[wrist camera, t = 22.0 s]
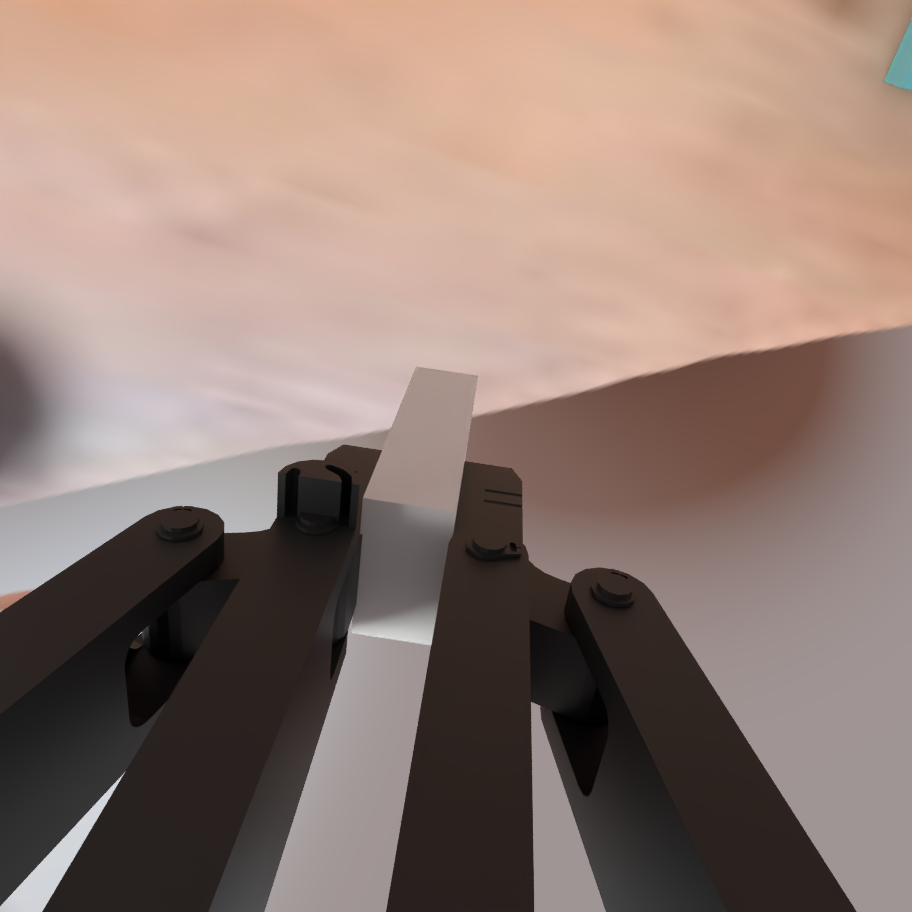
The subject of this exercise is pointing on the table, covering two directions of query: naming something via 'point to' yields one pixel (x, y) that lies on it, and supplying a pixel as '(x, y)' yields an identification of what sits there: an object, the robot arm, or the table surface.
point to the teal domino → (902, 63)
